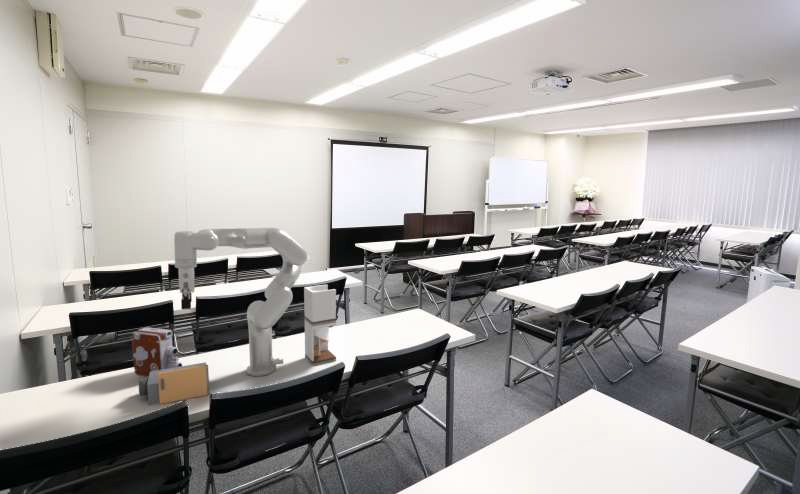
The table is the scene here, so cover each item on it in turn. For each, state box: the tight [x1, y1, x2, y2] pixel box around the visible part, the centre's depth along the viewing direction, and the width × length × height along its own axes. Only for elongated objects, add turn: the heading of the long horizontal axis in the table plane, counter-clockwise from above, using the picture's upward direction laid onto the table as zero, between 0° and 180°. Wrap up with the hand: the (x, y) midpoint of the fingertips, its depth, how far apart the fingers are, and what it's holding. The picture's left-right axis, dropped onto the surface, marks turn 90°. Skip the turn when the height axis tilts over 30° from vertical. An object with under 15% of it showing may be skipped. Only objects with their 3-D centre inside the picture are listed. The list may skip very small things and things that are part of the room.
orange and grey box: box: [138, 361, 207, 406], centre depth 156 cm, size 23×12×8 cm, turn 118°
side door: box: [158, 364, 210, 405], centre depth 151 cm, size 17×2×12 cm, turn 118°
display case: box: [303, 284, 337, 367], centre depth 188 cm, size 11×11×35 cm
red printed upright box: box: [131, 326, 183, 378], centre depth 170 cm, size 9×19×20 cm, turn 78°
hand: (186, 305), depth 157 cm, fingers open, 9 cm apart
